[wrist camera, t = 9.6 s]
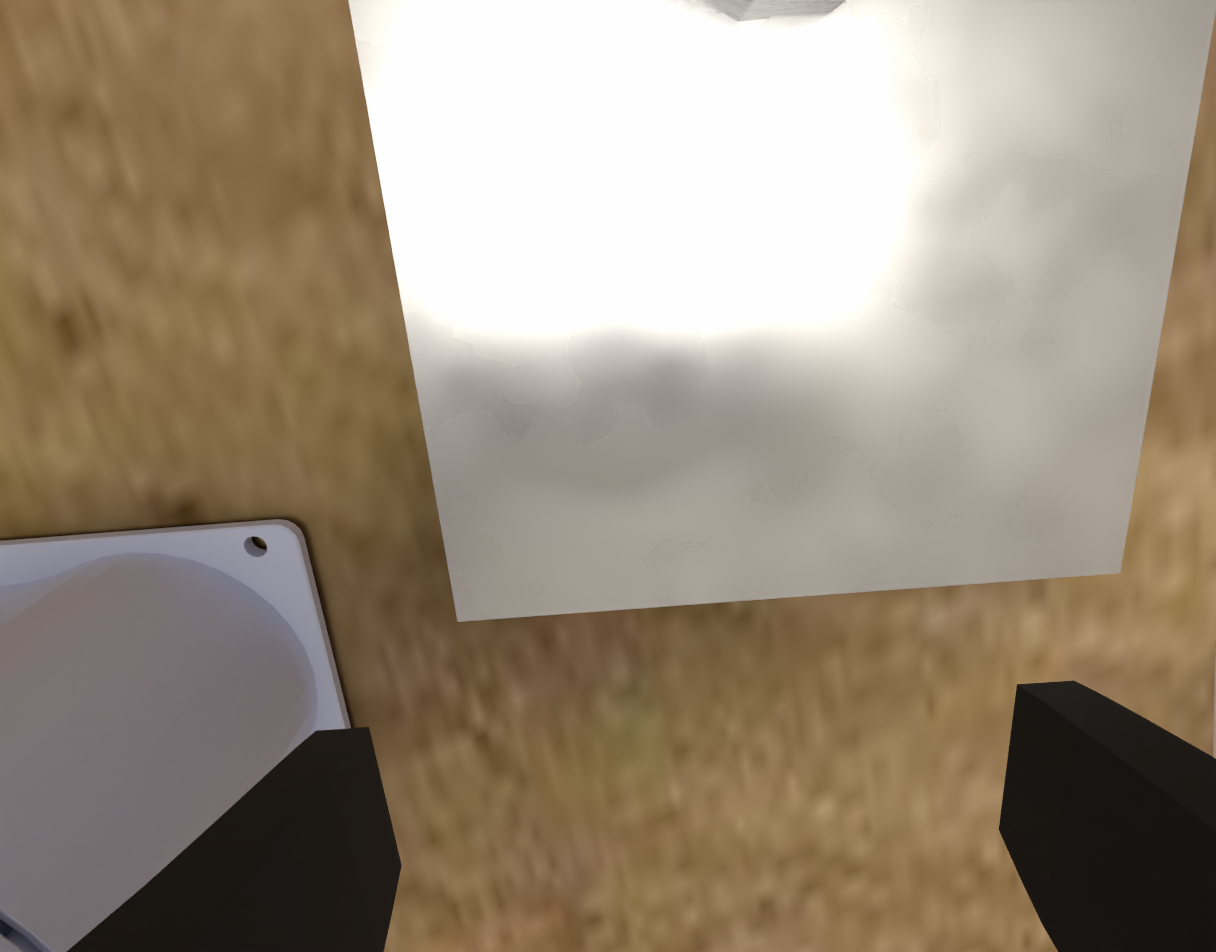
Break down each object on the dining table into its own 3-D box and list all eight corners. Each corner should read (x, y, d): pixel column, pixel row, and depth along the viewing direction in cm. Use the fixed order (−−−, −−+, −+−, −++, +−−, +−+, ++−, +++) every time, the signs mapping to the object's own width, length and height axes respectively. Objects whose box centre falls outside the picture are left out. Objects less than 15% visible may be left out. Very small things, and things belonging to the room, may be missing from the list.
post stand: (466, 595, 18) (406, 763, 13) (258, -648, 11) (-82, -1475, 6) (1087, 549, 18) (1299, 702, 12) (1287, -775, 11) (2004, -1806, 5)
